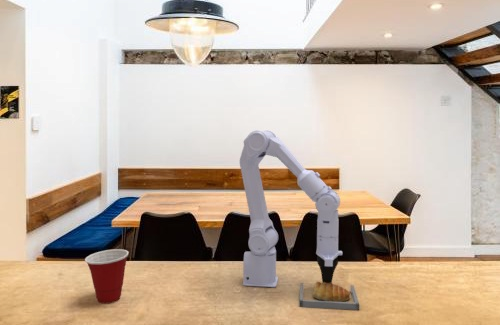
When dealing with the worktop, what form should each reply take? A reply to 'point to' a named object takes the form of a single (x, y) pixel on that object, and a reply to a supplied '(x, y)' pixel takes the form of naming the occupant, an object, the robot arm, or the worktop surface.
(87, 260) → the plastic cup
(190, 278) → the worktop surface
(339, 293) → the pastry
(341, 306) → the grey u-shaped bracket
